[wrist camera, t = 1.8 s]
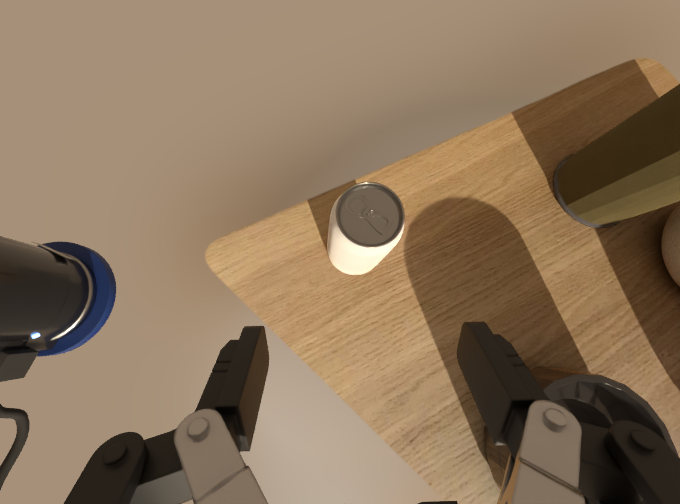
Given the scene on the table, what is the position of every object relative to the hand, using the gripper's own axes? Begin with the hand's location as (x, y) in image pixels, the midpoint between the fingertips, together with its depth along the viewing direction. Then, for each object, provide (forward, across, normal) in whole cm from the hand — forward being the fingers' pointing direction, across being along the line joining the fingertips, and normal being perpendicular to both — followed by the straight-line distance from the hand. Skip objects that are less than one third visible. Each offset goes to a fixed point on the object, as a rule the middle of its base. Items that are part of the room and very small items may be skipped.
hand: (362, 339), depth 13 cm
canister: (+30, -32, +3) cm, 44 cm away
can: (+23, -1, +8) cm, 25 cm away
